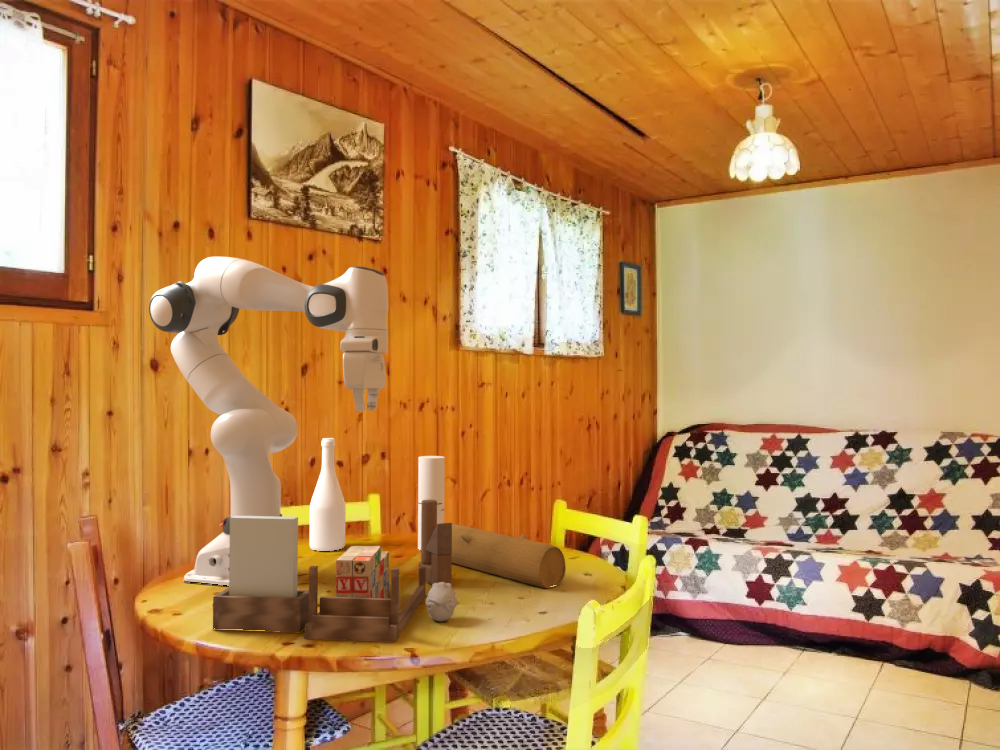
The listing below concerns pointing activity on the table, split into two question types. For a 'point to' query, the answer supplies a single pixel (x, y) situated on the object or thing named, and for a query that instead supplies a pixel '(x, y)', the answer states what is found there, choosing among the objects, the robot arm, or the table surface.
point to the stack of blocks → (363, 573)
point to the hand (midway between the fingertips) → (366, 411)
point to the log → (508, 556)
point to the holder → (261, 612)
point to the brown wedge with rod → (435, 545)
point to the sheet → (263, 556)
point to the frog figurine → (441, 601)
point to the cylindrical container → (431, 486)
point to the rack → (361, 613)
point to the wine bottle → (327, 505)
